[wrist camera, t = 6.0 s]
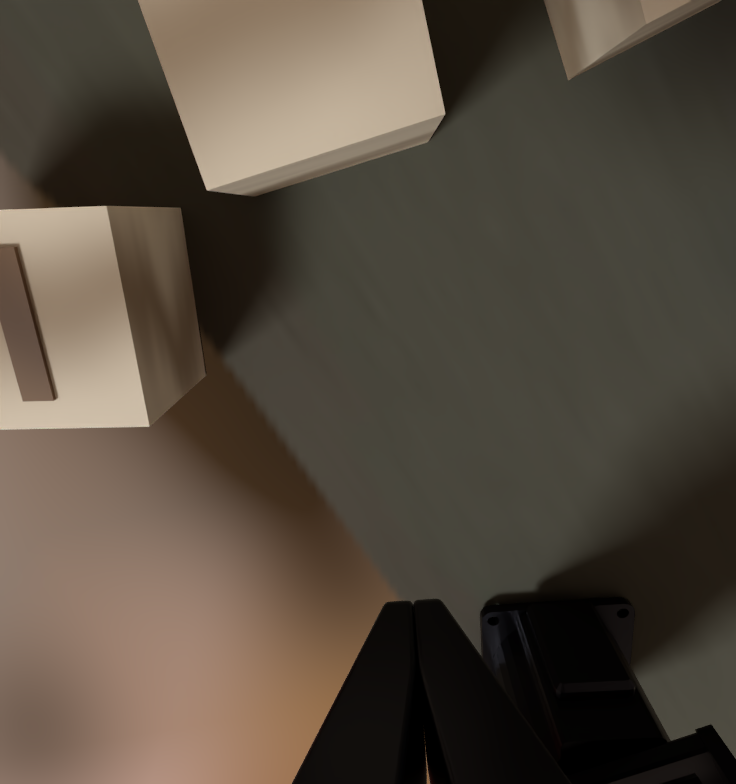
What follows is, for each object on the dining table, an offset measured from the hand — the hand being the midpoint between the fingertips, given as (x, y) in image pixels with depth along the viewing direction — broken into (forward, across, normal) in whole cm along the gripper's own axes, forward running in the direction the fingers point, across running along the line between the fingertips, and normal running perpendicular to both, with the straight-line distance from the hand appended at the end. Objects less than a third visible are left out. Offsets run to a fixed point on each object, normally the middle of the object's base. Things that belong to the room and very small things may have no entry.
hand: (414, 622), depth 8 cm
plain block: (+12, +2, -10) cm, 16 cm away
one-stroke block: (+12, +10, -4) cm, 16 cm away
